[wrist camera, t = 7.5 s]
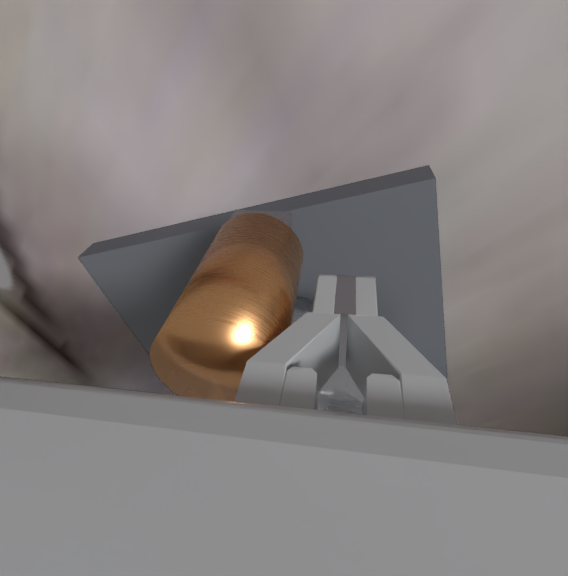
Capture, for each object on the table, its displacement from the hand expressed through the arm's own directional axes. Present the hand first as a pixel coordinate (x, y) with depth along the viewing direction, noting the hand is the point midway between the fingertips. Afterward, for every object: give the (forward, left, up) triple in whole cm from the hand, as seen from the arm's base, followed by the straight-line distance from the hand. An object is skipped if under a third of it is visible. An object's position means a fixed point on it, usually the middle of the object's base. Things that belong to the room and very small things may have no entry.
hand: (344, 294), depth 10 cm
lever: (+5, +6, -6) cm, 10 cm away
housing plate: (+5, +9, -8) cm, 13 cm away
